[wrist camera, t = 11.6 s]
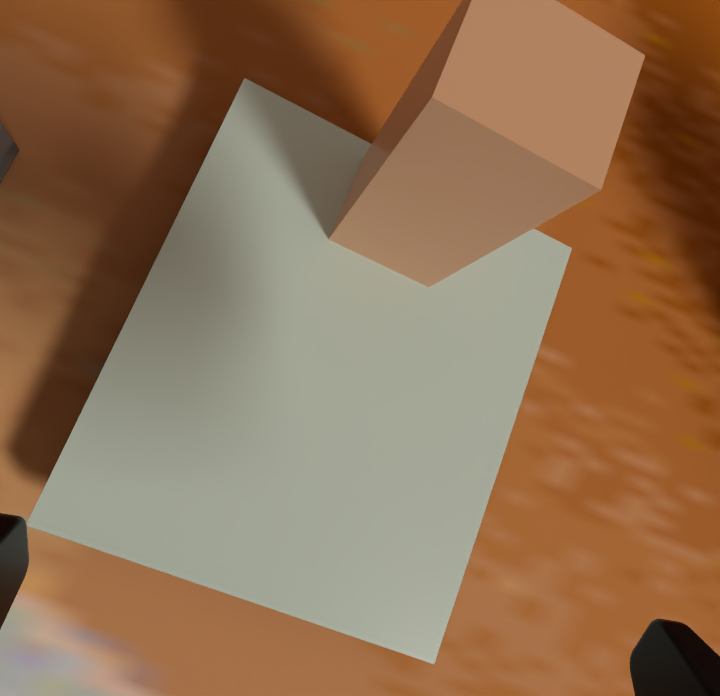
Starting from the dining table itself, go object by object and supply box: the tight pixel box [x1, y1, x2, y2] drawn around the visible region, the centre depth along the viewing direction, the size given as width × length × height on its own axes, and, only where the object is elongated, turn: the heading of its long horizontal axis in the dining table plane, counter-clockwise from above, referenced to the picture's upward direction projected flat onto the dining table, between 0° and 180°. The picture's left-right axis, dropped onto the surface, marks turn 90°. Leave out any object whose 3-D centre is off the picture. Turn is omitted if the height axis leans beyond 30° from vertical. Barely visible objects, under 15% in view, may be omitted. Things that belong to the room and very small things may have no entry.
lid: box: [26, 0, 645, 664], centre depth 15 cm, size 14×12×11 cm
